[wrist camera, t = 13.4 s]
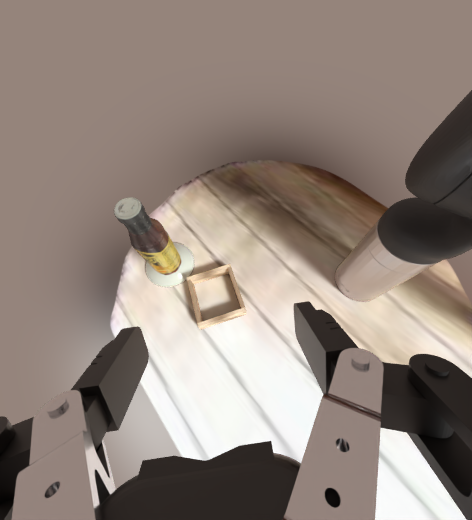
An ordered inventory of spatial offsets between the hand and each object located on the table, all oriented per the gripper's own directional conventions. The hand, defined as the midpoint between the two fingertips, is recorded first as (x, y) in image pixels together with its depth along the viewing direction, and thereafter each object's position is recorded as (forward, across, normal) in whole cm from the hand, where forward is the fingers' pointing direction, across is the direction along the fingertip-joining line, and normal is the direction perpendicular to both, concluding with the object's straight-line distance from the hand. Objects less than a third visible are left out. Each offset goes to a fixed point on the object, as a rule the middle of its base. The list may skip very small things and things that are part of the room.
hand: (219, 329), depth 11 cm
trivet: (+38, +13, +8) cm, 41 cm away
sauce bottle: (+38, +13, +8) cm, 41 cm away
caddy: (+32, +4, +14) cm, 35 cm away
